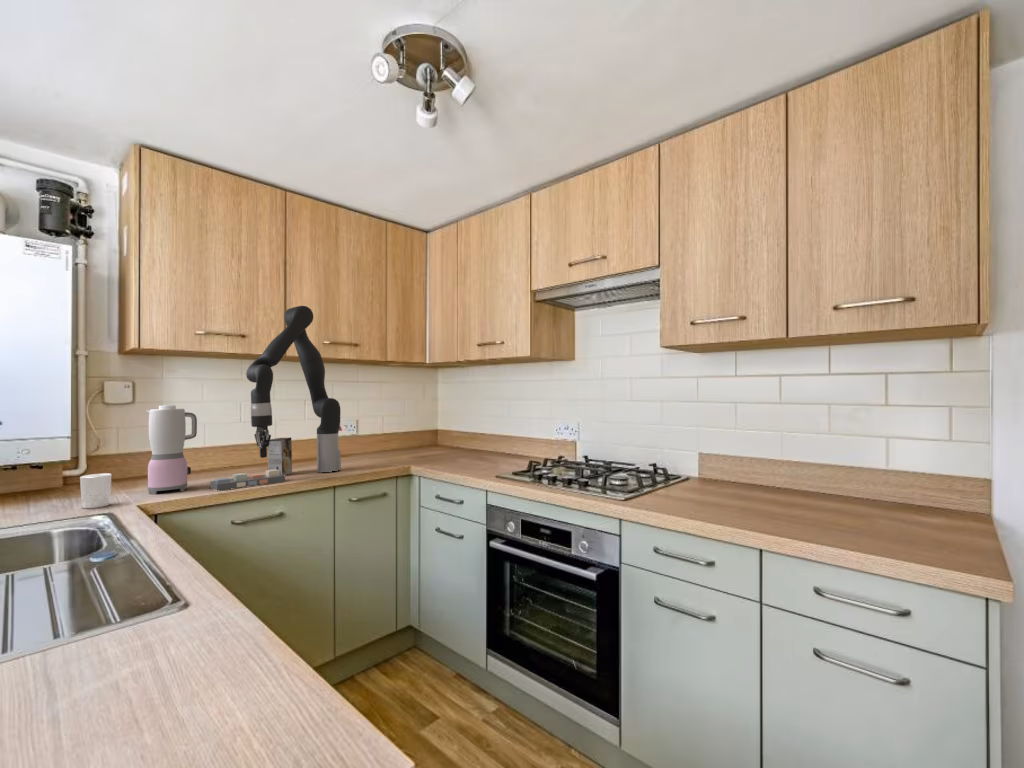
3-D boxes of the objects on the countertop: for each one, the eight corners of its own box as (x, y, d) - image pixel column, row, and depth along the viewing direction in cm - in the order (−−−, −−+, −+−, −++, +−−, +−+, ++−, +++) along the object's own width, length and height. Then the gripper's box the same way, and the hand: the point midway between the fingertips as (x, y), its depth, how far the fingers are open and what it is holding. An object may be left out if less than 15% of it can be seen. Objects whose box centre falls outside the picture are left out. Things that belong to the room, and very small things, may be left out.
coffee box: (278, 473, 220) (277, 437, 221) (292, 473, 220) (292, 437, 221) (267, 477, 211) (267, 439, 211) (282, 476, 211) (282, 439, 211)
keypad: (276, 479, 205) (275, 473, 205) (284, 481, 198) (284, 475, 198) (210, 487, 189) (210, 481, 189) (217, 491, 181) (217, 484, 181)
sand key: (276, 476, 203) (275, 469, 203) (279, 477, 200) (279, 470, 200) (265, 477, 200) (265, 470, 200) (269, 478, 197) (268, 471, 197)
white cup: (79, 506, 160) (79, 475, 161) (110, 502, 166) (110, 472, 166) (81, 510, 155) (80, 478, 155) (113, 505, 160) (112, 475, 160)
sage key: (244, 480, 194) (244, 473, 194) (247, 481, 191) (247, 474, 191) (232, 482, 191) (232, 474, 192) (235, 483, 189) (235, 475, 189)
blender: (149, 495, 175) (148, 406, 176) (144, 491, 184) (144, 406, 185) (201, 489, 186) (200, 404, 186) (194, 485, 195) (193, 404, 195)
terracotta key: (260, 480, 198) (260, 473, 198) (263, 482, 196) (263, 474, 196) (249, 482, 196) (249, 474, 196) (252, 483, 193) (252, 475, 193)
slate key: (227, 485, 190) (227, 477, 190) (230, 486, 187) (229, 478, 187) (215, 486, 187) (215, 478, 187) (218, 488, 184) (218, 480, 184)
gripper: (277, 414, 195) (279, 457, 196) (266, 413, 205) (267, 454, 205) (256, 415, 190) (258, 460, 190) (246, 414, 200) (248, 457, 200)
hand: (263, 457), depth 198 cm, fingers closed
